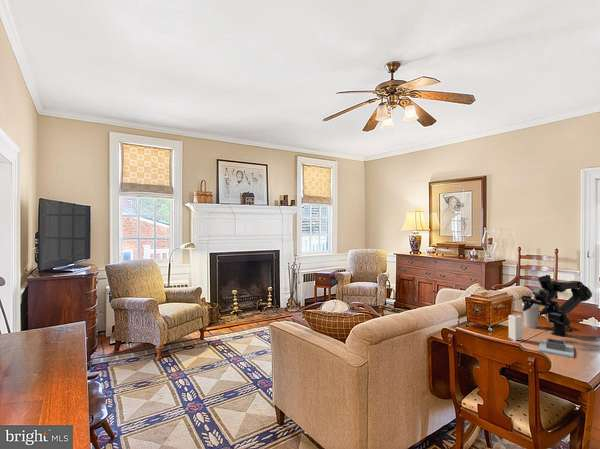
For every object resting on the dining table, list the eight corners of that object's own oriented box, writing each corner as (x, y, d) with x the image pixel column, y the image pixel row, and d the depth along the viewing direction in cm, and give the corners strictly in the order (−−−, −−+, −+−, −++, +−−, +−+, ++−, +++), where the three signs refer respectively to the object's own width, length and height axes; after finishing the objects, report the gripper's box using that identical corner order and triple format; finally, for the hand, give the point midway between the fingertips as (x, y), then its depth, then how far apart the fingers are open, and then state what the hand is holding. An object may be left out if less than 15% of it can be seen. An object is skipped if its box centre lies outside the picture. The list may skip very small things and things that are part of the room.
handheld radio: (552, 320, 229) (574, 332, 205) (546, 320, 230) (567, 332, 205) (551, 310, 229) (573, 321, 205) (545, 310, 230) (567, 321, 205)
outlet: (540, 341, 188) (540, 334, 188) (573, 347, 180) (573, 339, 180) (538, 351, 174) (538, 343, 174) (573, 358, 166) (573, 349, 166)
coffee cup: (539, 325, 218) (539, 301, 218) (540, 329, 210) (540, 304, 210) (521, 323, 223) (521, 300, 223) (521, 327, 215) (521, 303, 215)
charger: (515, 337, 195) (514, 314, 195) (522, 340, 191) (522, 316, 191) (508, 338, 194) (508, 314, 194) (515, 341, 190) (515, 316, 190)
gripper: (526, 281, 203) (510, 297, 198) (560, 287, 186) (544, 304, 181) (532, 297, 205) (516, 313, 200) (567, 304, 188) (551, 321, 183)
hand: (531, 312), depth 191 cm, fingers open, 9 cm apart
